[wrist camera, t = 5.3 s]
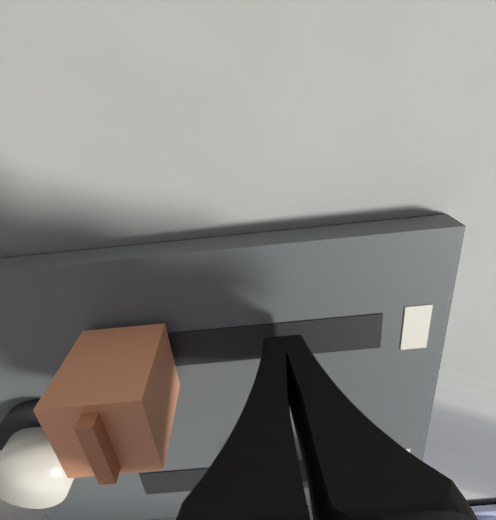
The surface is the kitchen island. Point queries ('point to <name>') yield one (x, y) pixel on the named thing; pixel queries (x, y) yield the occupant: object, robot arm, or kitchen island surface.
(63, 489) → the button
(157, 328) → the terracotta knob
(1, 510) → the kitchen island surface
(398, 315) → the panel
